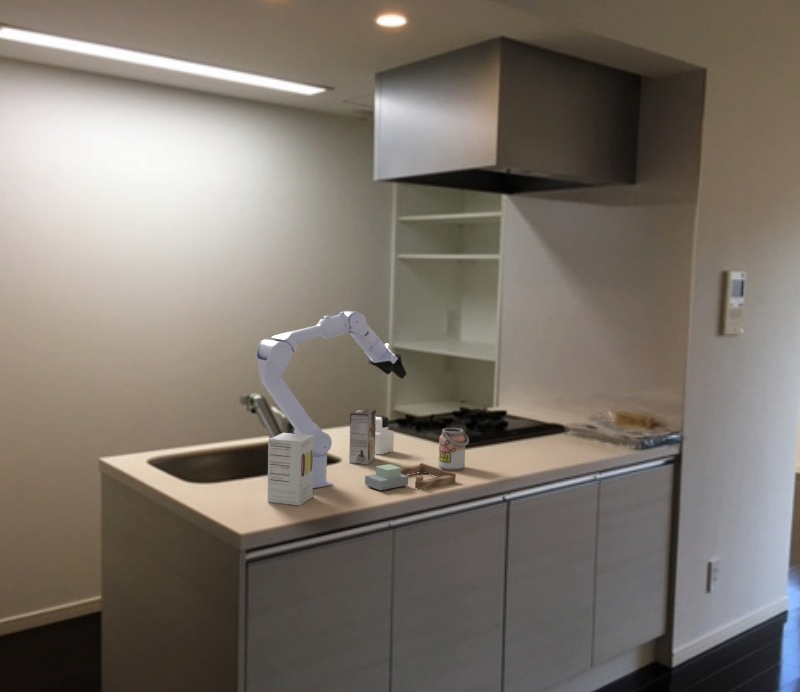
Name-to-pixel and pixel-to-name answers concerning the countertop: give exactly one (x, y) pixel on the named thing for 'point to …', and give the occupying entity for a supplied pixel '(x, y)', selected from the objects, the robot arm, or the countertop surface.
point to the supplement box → (290, 468)
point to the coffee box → (362, 436)
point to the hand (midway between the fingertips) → (397, 374)
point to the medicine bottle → (383, 436)
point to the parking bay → (441, 478)
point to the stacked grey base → (386, 478)
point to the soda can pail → (452, 449)
